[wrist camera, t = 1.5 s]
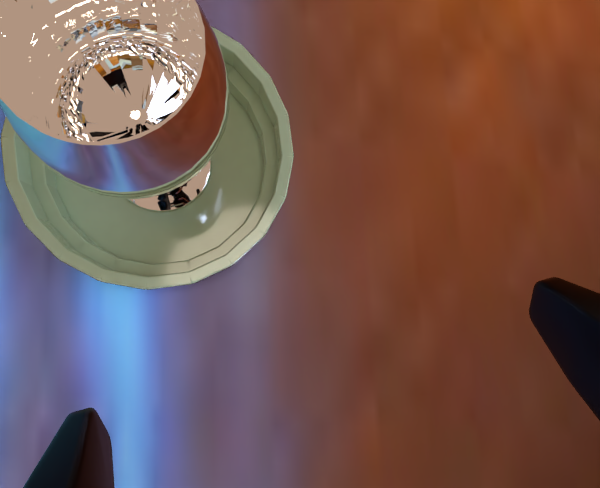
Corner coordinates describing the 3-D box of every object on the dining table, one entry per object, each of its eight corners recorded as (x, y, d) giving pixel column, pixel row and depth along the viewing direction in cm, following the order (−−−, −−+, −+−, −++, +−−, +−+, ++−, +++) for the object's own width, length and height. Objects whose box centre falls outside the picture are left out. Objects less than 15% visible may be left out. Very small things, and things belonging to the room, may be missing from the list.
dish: (258, 306, 23) (264, 311, 20) (6, 261, 22) (-31, 258, 18) (302, 78, 24) (314, 49, 21) (64, 20, 23) (39, -22, 19)
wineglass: (248, 138, 23) (276, -6, 11) (190, 249, 22) (155, 219, 11) (133, 77, 23) (35, -143, 11) (69, 190, 22) (-110, 87, 10)
